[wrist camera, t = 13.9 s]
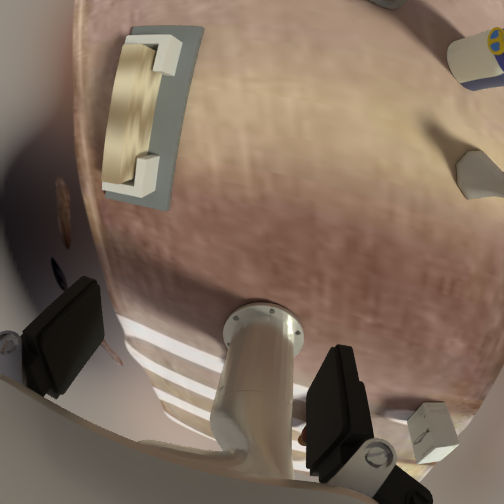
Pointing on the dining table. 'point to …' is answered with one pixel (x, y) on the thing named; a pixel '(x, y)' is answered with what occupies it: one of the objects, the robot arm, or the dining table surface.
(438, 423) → the supplement box
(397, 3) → the newton's cradle
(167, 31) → the frame
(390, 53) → the dining table surface
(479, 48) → the water bottle
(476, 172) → the flask
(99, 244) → the dining table surface
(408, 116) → the dining table surface
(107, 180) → the slat
